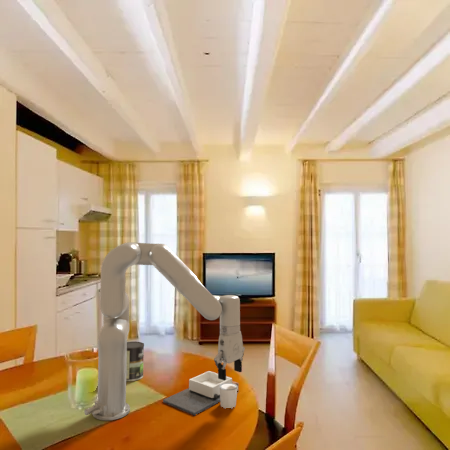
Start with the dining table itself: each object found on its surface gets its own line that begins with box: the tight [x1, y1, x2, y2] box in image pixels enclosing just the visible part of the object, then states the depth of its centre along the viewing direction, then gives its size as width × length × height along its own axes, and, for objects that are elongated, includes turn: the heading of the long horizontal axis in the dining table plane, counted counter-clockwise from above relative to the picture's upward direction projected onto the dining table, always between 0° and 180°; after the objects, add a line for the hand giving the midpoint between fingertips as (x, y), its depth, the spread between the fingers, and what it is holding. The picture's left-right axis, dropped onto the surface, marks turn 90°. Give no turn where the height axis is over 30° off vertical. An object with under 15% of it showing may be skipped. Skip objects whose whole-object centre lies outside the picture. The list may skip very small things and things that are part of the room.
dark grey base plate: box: [162, 380, 240, 416], centre depth 146 cm, size 26×16×4 cm, turn 142°
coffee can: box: [126, 341, 145, 382], centre depth 165 cm, size 10×10×14 cm
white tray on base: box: [188, 370, 233, 398], centre depth 150 cm, size 12×14×4 cm
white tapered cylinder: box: [219, 383, 239, 409], centre depth 140 cm, size 7×7×7 cm
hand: (230, 375), depth 140 cm, fingers open, 9 cm apart
